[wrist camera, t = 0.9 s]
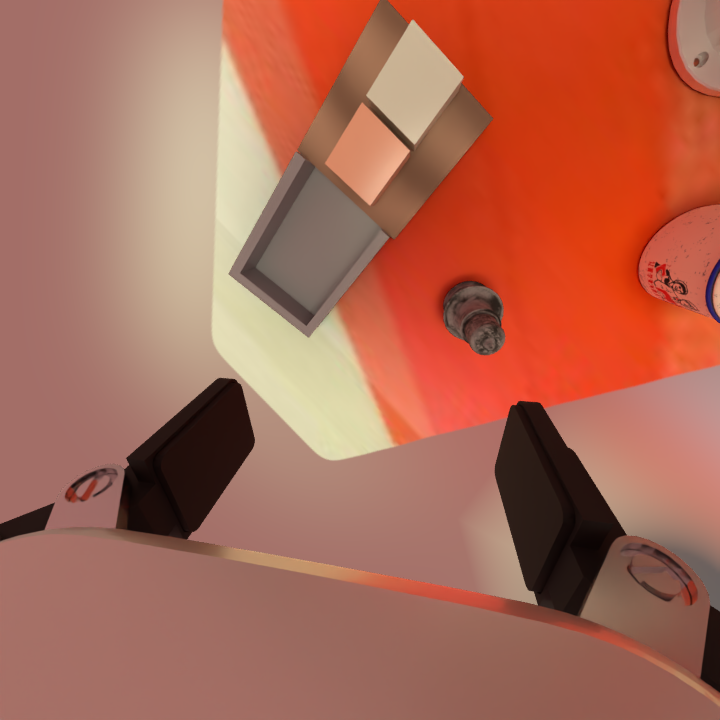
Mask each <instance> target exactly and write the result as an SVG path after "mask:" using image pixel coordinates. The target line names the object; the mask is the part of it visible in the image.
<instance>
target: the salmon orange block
mask: <svg viewBox="0 0 720 720" xmlns="http://www.w3.org/2000/svg"><path fill="white" fill-rule="evenodd" d="M409 158H410V150H409V149H408V148H407V147H406V146H405V145H404V144H403V143H402V142H401V141H400V140H399V139H398V138H397V137H396V136H395V135H394V134H393V133H392V132H391V131H390V130H389V129H388V128H387V127H386V126H385V125H384V124H383V123H382V122H381V121H380V120H379V119H378V118H377V117H376V116H375V115H374V114H373V113H372V112H371V111H370V110H369V109H368V108H367V107H366V106H365V105H364V104H363V103H361V105H360V106H359V108H358V110H357V111H356V113H355V115H354V116H353V118H352V120H351V121H350V123H349V124H348V126H347V128H346V129H345V131H344V133H343V134H342V136H341V138H340V139H339V141H338V143H337V144H336V146H335V147H334V149H333V151H332V152H331V154H330V156H329V157H328V159H327V161H326V162H325V164H326V165H327V166H328V167H329V168H330V169H331V170H332V171H333V172H334V173H336V174H337V175H338V176H339V177H340V178H341V179H342V180H343V181H344V182H345V183H346V184H347V185H348V186H349V187H350V188H352V189H353V190H354V191H355V192H356V193H357V194H358V195H359V196H360V197H361V198H362V199H363V200H364V201H365V202H366V203H368V204H369V205H370V206H374V205H375V204H376V203H377V201H378V200H379V199H380V197H381V196H382V194H383V193H384V192H385V190H386V189H387V188H388V186H389V185H390V184H391V182H392V181H393V180H394V178H395V177H396V175H397V174H398V173H399V171H400V170H401V169H402V167H403V166H404V165H405V163H406V162H407V161H408V159H409Z"/></svg>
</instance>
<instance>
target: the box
mask: <svg viewBox="0 0 720 720" xmlns="http://www.w3.org/2000/svg"><path fill="white" fill-rule="evenodd" d="M389 237H390V236H389V235H388V234H387V233H386V232H385V231H384V230H383V229H382V228H381V227H380V226H379V225H378V224H377V223H375V222H374V221H373V220H372V219H371V218H370V217H369V216H368V215H367V214H366V213H365V212H364V211H362V210H361V209H360V208H359V207H358V206H357V205H356V204H355V203H354V202H353V201H352V200H351V199H350V198H348V197H347V196H346V195H345V194H344V193H343V192H342V191H341V190H340V189H339V188H338V187H337V186H336V185H334V184H333V183H332V182H331V181H330V180H329V179H328V178H327V177H326V176H325V175H324V174H323V173H322V172H320V171H319V170H318V169H317V168H316V167H315V166H314V165H313V164H312V163H311V162H310V161H309V160H308V159H306V158H305V157H304V156H303V155H302V154H301V153H298V152H295V154H294V156H293V158H292V159H291V161H290V163H289V165H288V167H287V169H286V170H285V172H284V174H283V176H282V178H281V179H280V181H279V183H278V185H277V187H276V188H275V190H274V192H273V194H272V196H271V198H270V199H269V201H268V203H267V205H266V207H265V208H264V210H263V212H262V214H261V216H260V217H259V219H258V221H257V223H256V225H255V227H254V228H253V230H252V232H251V234H250V236H249V237H248V239H247V241H246V243H245V245H244V246H243V248H242V250H241V252H240V254H239V256H238V257H237V259H236V261H235V263H234V265H233V266H232V268H231V270H230V272H229V275H230V276H231V277H233V278H234V279H235V280H237V281H238V282H239V283H240V284H242V285H243V286H244V287H245V288H247V289H248V290H249V291H250V292H252V293H253V294H254V295H255V296H257V297H258V298H259V299H260V300H262V301H263V302H264V303H266V304H267V305H268V306H269V307H271V308H272V309H273V310H274V311H276V312H277V313H278V314H279V315H281V316H282V317H283V318H284V319H286V320H287V321H288V322H289V323H291V324H292V325H293V326H295V327H296V328H297V329H298V330H300V331H301V332H302V333H303V334H305V335H306V336H307V337H308V338H309V337H310V335H311V334H312V333H313V332H314V330H315V329H316V328H317V327H318V325H319V324H320V323H321V322H322V320H323V319H324V318H325V317H326V316H327V314H328V313H329V312H330V311H331V309H332V308H333V307H334V306H335V304H336V303H337V302H338V301H339V299H340V298H341V297H342V296H343V294H344V293H345V292H346V291H347V289H348V288H349V287H350V286H351V285H352V283H353V282H354V281H355V280H356V278H357V277H358V276H359V275H360V273H361V272H362V271H363V270H364V268H365V267H366V266H367V265H368V263H369V262H370V261H371V260H372V259H373V257H374V256H375V255H376V254H377V252H378V251H379V250H380V249H381V247H382V246H383V245H384V244H385V242H386V241H387V240H388V239H389Z"/></svg>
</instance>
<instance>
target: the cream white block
mask: <svg viewBox="0 0 720 720" xmlns="http://www.w3.org/2000/svg"><path fill="white" fill-rule="evenodd" d="M463 78H464V76H463V75H462V74H461V73H460V72H459V71H458V70H457V69H456V67H455V66H454V65H453V64H452V63H451V62H450V61H449V60H448V58H447V57H446V56H445V55H444V54H443V53H442V52H441V51H440V49H439V48H438V47H437V46H436V45H435V44H434V43H433V42H432V40H431V39H430V38H429V37H428V36H427V35H426V34H425V33H424V31H423V30H422V29H421V28H420V27H419V26H418V25H417V24H416V22H415V21H414V20H413V19H412V21H411V23H410V24H409V26H408V27H407V29H406V31H405V32H404V34H403V36H402V37H401V39H400V41H399V42H398V44H397V46H396V47H395V49H394V50H393V52H392V54H391V55H390V57H389V59H388V60H387V62H386V64H385V65H384V67H383V69H382V70H381V72H380V73H379V75H378V77H377V78H376V80H375V82H374V83H373V85H372V87H371V88H370V90H369V92H368V93H367V95H366V96H367V98H368V101H369V103H370V106H371V108H372V109H373V110H374V111H375V112H376V113H377V114H378V115H379V116H380V117H381V118H382V119H383V120H384V121H385V122H386V123H387V124H388V125H389V126H390V127H391V128H392V129H393V130H394V131H395V132H396V133H397V134H398V135H399V136H400V137H401V138H402V139H403V140H404V141H405V142H406V143H407V144H408V145H409V146H410V147H411V148H412V149H413V150H414V151H415V150H416V148H417V147H418V146H419V144H420V143H421V142H422V140H423V139H424V138H425V136H426V135H427V133H428V132H429V131H430V129H431V128H432V127H433V125H434V124H435V123H436V121H437V120H438V119H439V117H440V116H441V114H442V113H443V112H444V110H445V109H446V108H447V106H448V105H449V104H450V102H451V101H452V100H453V98H454V97H455V95H456V94H457V93H458V91H459V89H460V86H461V83H462V81H463Z"/></svg>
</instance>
